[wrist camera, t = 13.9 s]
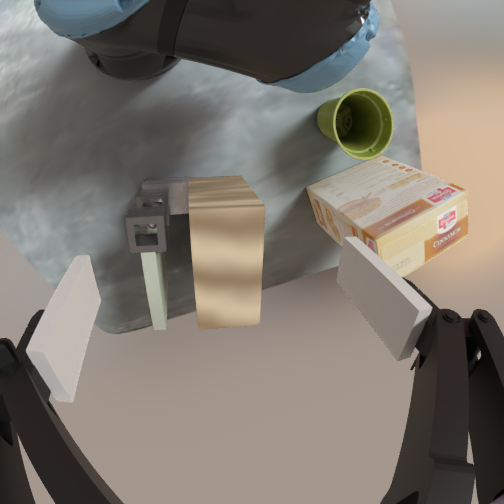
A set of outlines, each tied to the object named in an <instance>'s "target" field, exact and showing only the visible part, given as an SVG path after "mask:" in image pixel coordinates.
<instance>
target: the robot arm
mask: <svg viewBox="0 0 504 504" xmlns="http://www.w3.org/2000/svg"><path fill="white" fill-rule="evenodd" d="M34 5H35V7H36V11H37V13H38V16H39V17H40V19H41V20H42V21H43V22H44V23H45V24H46V25H47V26H48V27H49V28H50V29H51V30H53V32H54V33H56V34H58V35H59V36H62V37H66V38H69V39H71V40H73V41H75V42H77V43H79V44H81V45H82V46H84V47H85V50H86V53H87V55H88V57H89V59H90V61H91V62H92V63H93V64H94V66H95V67H96V68H98V69H99V70H100V71H102V72H103V73H105V74H107V75H109V76H112V77H114V78H118V79H122V80H142V79H147V78H151V77H154V76H157V75H159V74H161V73H163V72H165V71H167V70H168V69H170V68H171V67H173V66H174V65H175V64H177V63H178V62H179V61H180V60H181V59H185V60H190V61H194V62H198V63H203V64H207V65H211V66H214V67H218V68H222V69H226V70H229V71H233V72H236V73H239V74H243V75H246V76H249V77H252V78H255V79H256V80H257V81H258V82H260V83H262V84H265V85H272V86H279V87H282V88H285V89H288V90H291V91H294V92H299V93H313V92H317V91H321V90H323V89H326V88H328V87H330V86H332V85H333V84H335V83H337V82H338V81H339V80H341V79H342V78H343V77H345V76H346V75H347V74H348V73H349V72H350V71H351V70H352V69H353V68H354V67H355V66H356V65H357V64H358V63H359V62H360V61H361V59H362V58H363V57H364V55H365V54H366V52H367V51H368V49H369V48H370V44H369V42H368V41H370V40H371V39H372V38H374V37H375V36H376V33H377V30H378V25H379V18H378V12H377V10H376V8H375V7H374V6H373V4H372V2H371V0H34ZM336 281H337V282H338V284H339V285H340V286H341V288H342V289H343V290H344V291H345V293H346V294H347V295H348V296H349V298H350V299H351V300H352V302H353V303H354V304H355V305H356V307H357V308H358V309H359V311H360V312H361V313H362V315H363V316H364V317H365V319H366V320H367V321H368V322H369V324H370V325H371V326H372V328H373V329H374V330H375V332H376V333H377V334H378V336H379V337H380V338H381V340H382V341H383V342H384V344H385V345H386V347H387V348H388V349H389V351H390V352H391V353H392V355H393V356H394V357H395V359H396V360H397V361H400V360H403V359H406V358H409V357H410V356H411V354H412V352H413V350H414V348H415V347H416V348H417V349H418V351H419V353H418V355H417V357H416V360H415V361H414V363H413V365H412V367H411V370H413V368H414V367H415V366H416V367H415V376H414V383H413V390H412V396H411V403H410V408H409V414H408V419H407V424H406V430H405V434H404V439H403V443H402V447H401V451H400V455H399V459H398V463H397V466H396V470H395V473H394V477H393V480H392V484H391V486H390V489H389V490H388V492H387V494H386V495H385V497H384V498H383V500H382V502H381V503H380V504H471V500H472V494H473V486H474V480H475V478H476V489H477V497H478V501H479V504H504V336H503V334H502V332H501V330H500V328H499V327H498V325H497V323H496V321H495V319H494V318H493V316H492V315H491V314H490V313H488V312H487V311H486V310H481V309H476V310H474V312H473V314H472V316H471V318H461V317H460V316H459V314H458V313H456V312H455V311H452V310H450V309H439V308H438V307H437V306H436V305H435V304H434V303H433V302H432V301H431V300H430V299H429V298H428V297H427V296H426V295H425V294H423V293H422V292H421V291H420V290H419V289H418V288H417V287H416V286H415V285H414V284H413V283H412V282H411V281H409V280H407V279H405V278H403V277H400V276H399V275H398V274H397V273H396V272H395V271H394V270H393V269H392V268H391V267H390V266H389V265H388V264H386V263H385V262H384V261H383V260H382V259H381V258H380V257H379V256H378V255H376V254H375V253H374V252H373V251H372V250H371V249H370V248H369V247H367V246H366V245H365V244H364V243H363V242H362V241H361V240H359V239H358V238H357V237H356V236H355V237H344V240H343V246H342V252H341V258H340V263H339V268H338V274H337V279H336ZM100 303H101V298H100V295H99V291H98V288H97V284H96V280H95V277H94V273H93V269H92V265H91V261H90V256H89V255H81V256H75V258H74V260H73V261H72V263H71V265H70V266H69V268H68V270H67V271H66V273H65V275H64V276H63V278H62V280H61V282H60V283H59V285H58V287H57V289H56V290H55V293H54V294H53V296H52V298H51V300H50V302H49V303H48V305H47V307H46V309H45V310H39V311H38V312H37V313H36V314H35V315H34V316H33V317H32V318H31V320H30V322H29V324H28V327H27V328H26V330H25V332H24V334H23V336H22V338H21V340H20V342H19V344H18V346H17V348H15V346H14V345H13V343H12V341H11V340H10V339H7V338H1V339H0V504H35V501H34V498H33V495H32V492H31V489H30V485H29V482H28V479H27V475H26V472H25V468H24V464H23V460H22V455H21V452H20V447H19V442H18V436H19V438H20V440H21V442H22V445H23V447H24V449H25V451H26V453H27V455H28V457H29V459H30V461H31V463H32V465H33V467H34V468H35V470H36V472H37V474H38V476H39V477H40V479H41V481H42V483H43V484H44V486H45V488H46V489H47V491H48V493H49V494H50V496H51V497H52V499H53V500H54V502H55V504H124V503H123V502H122V501H121V500H120V499H119V498H118V497H117V496H116V494H115V493H114V492H113V491H112V490H111V489H110V487H109V486H108V485H107V484H106V483H105V481H104V480H103V479H102V478H101V477H100V475H99V474H98V473H97V472H96V470H95V469H94V468H93V466H92V465H91V464H90V462H89V461H88V460H87V458H86V457H85V456H84V454H83V453H82V452H81V450H80V449H79V447H78V446H77V444H76V443H75V441H74V440H73V438H72V437H71V435H70V434H69V432H68V431H67V429H66V428H65V426H64V424H63V423H62V421H61V419H60V418H59V416H58V414H57V413H56V411H55V409H54V408H53V406H52V404H51V403H50V401H49V396H50V393H52V395H53V396H54V398H55V399H56V400H57V401H62V402H73V401H74V397H75V392H76V388H77V383H78V379H79V375H80V371H81V367H82V363H83V359H84V356H85V352H86V348H87V345H88V341H89V338H90V335H91V331H92V328H93V325H94V321H95V318H96V315H97V312H98V309H99V306H100ZM480 351H481V358H480V359H479V360H478V358H477V355H478V353H479V352H480ZM468 432H469V434H470V440H471V446H472V453H473V461H474V465H473V464H470V463H468V462H467V448H468ZM17 434H18V436H17Z"/></svg>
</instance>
